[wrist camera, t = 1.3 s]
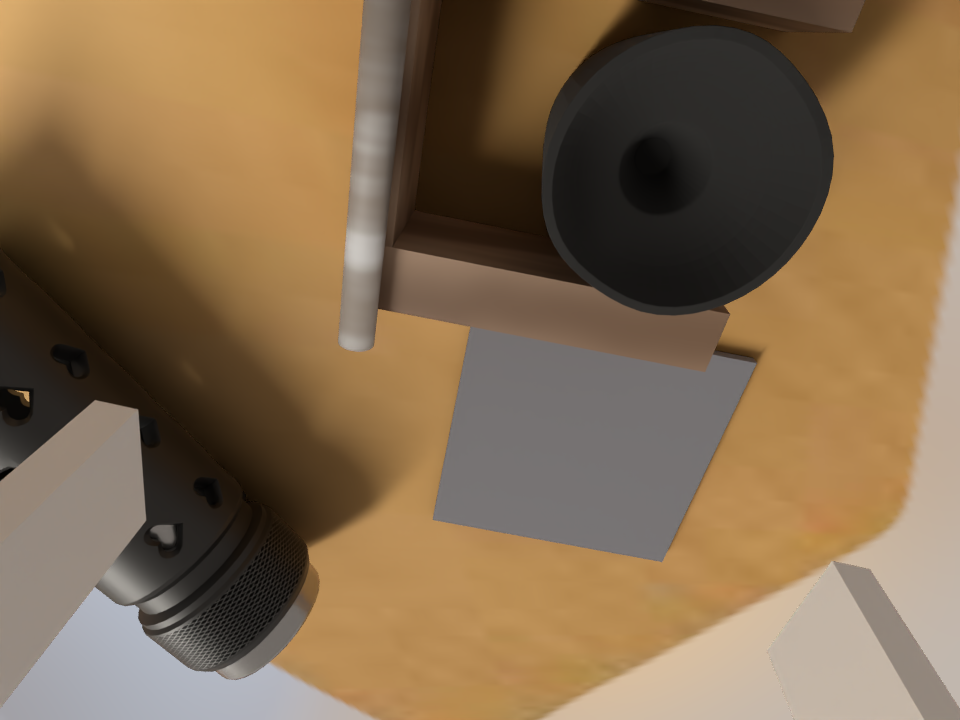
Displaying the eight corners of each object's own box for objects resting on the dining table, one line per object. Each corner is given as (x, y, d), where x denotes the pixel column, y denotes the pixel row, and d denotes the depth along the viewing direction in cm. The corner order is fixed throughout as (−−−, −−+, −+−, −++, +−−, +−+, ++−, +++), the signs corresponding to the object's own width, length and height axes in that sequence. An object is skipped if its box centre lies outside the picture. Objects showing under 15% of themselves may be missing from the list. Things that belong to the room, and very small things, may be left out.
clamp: (414, -188, 23) (370, -275, 17) (834, -95, 24) (953, -143, 17) (368, 282, 33) (329, 346, 26) (667, 341, 34) (702, 418, 27)
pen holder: (547, 246, 31) (556, 329, 23) (525, 47, 27) (525, 56, 18) (733, 221, 30) (818, 299, 21) (742, 8, 26) (853, -3, 17)
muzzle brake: (26, 192, 32) (-170, 257, 23) (349, 531, 43) (302, 666, 34) (-74, 278, 35) (-282, 365, 26) (252, 575, 46) (184, 710, 36)
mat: (474, 303, 33) (474, 308, 33) (753, 358, 34) (756, 363, 33) (433, 513, 41) (432, 519, 40) (660, 555, 42) (662, 561, 41)
